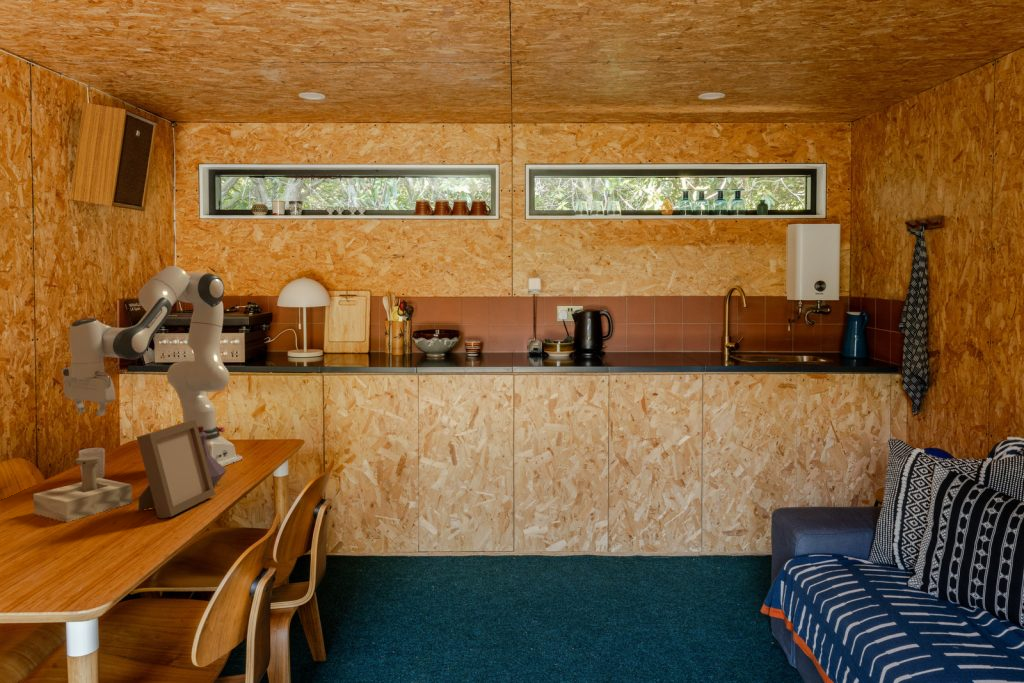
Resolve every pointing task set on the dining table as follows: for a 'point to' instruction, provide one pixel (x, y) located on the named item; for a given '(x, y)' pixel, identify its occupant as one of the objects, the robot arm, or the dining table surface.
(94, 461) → the handle
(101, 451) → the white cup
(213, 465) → the flask
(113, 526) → the dining table surface
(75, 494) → the socket block
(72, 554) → the dining table surface
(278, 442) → the dining table surface
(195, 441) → the photo frame
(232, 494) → the dining table surface
